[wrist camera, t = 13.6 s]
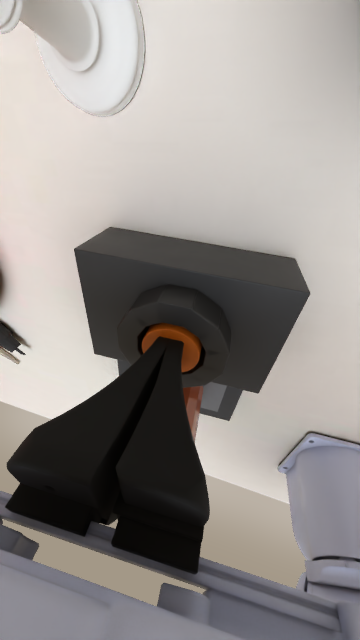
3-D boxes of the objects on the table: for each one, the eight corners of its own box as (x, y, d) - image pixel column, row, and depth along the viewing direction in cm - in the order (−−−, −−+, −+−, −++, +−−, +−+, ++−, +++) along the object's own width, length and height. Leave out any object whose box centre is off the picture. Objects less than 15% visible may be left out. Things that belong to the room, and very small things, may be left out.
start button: (199, 356, 15) (195, 378, 13) (151, 345, 15) (141, 365, 14) (208, 316, 13) (203, 337, 11) (151, 304, 13) (141, 323, 12)
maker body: (256, 350, 19) (259, 418, 14) (118, 320, 20) (80, 372, 16) (295, 258, 14) (320, 315, 9) (109, 226, 15) (51, 262, 11)
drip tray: (229, 412, 25) (229, 422, 24) (124, 385, 26) (120, 394, 25) (254, 355, 19) (254, 365, 18) (118, 324, 21) (113, 332, 20)
